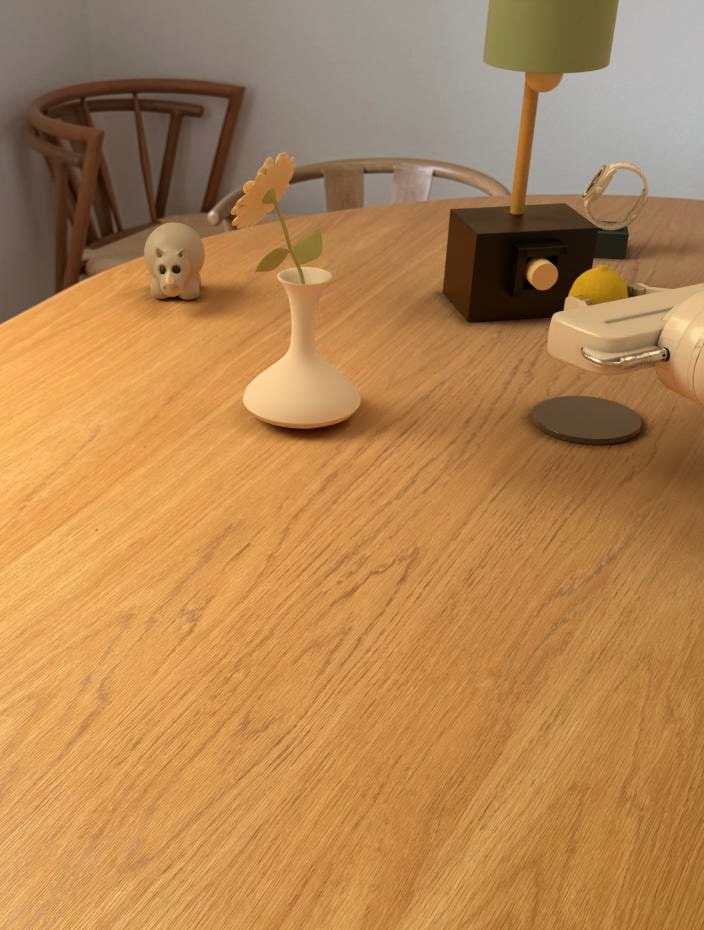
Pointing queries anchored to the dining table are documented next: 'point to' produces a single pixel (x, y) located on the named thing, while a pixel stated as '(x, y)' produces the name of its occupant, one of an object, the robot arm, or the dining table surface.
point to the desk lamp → (528, 226)
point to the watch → (610, 233)
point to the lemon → (600, 285)
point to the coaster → (586, 420)
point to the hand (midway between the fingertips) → (601, 298)
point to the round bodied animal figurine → (174, 261)
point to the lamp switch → (541, 273)
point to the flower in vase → (294, 321)
